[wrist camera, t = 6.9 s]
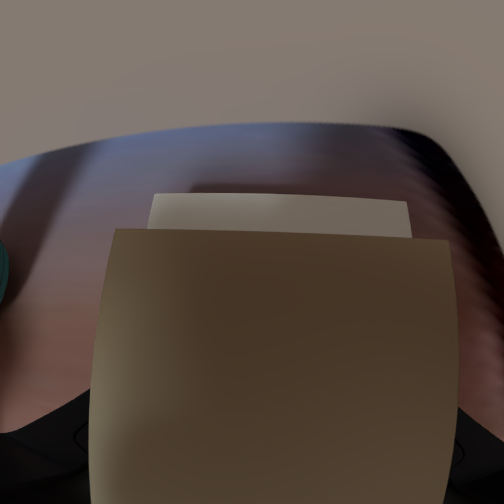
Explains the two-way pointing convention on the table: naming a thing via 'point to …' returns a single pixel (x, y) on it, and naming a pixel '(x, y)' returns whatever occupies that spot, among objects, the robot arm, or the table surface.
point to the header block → (280, 214)
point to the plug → (273, 369)
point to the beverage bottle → (3, 270)
